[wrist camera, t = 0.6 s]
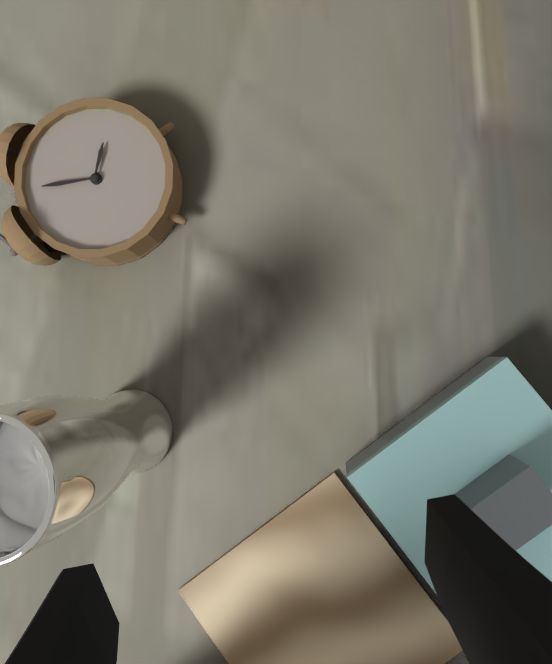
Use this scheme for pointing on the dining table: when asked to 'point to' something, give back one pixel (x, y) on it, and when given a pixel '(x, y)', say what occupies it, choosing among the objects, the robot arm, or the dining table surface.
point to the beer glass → (71, 460)
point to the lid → (470, 467)
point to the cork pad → (319, 592)
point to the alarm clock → (90, 184)
